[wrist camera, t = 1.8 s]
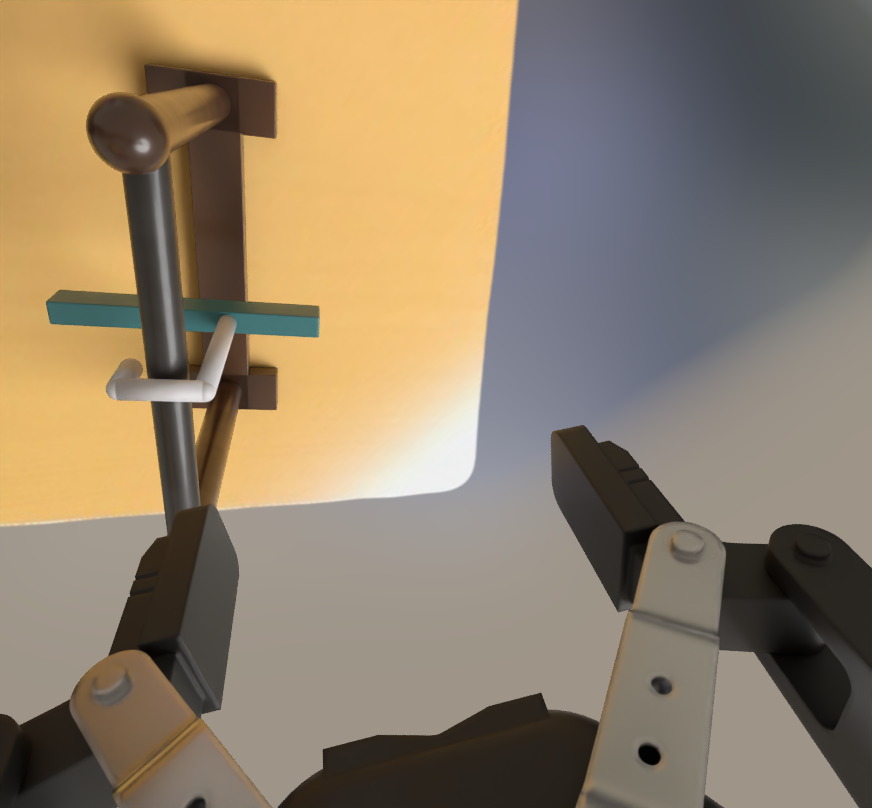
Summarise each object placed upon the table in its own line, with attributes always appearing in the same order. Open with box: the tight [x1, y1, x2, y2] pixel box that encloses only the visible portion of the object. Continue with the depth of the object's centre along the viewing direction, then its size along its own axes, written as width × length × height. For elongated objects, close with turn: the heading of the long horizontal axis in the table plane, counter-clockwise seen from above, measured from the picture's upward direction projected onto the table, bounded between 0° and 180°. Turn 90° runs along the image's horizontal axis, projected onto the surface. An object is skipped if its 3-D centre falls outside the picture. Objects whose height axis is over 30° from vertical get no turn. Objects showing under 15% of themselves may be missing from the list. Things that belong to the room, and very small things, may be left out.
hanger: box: [46, 290, 320, 402], centre depth 27 cm, size 13×1×10 cm, turn 82°
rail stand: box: [86, 64, 278, 536], centre depth 30 cm, size 7×22×20 cm, turn 172°
